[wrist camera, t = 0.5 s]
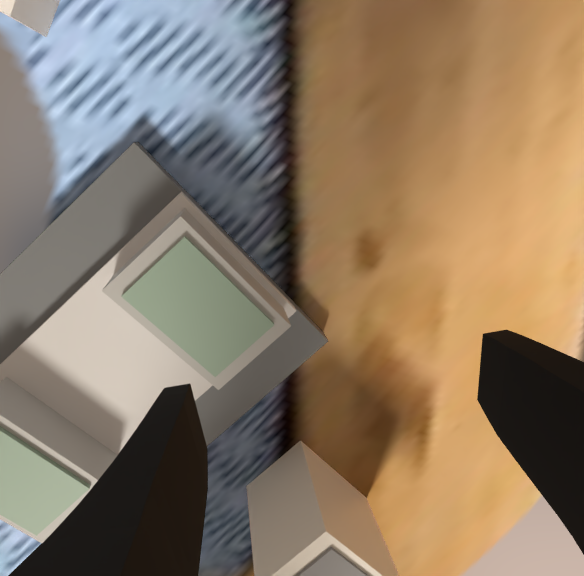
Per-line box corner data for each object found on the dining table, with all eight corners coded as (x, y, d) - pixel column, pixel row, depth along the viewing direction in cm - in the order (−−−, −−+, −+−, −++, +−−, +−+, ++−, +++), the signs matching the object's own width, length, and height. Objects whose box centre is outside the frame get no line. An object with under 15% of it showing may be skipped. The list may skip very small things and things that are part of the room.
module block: (315, 538, 27) (342, 649, 21) (246, 485, 25) (255, 591, 19) (366, 497, 26) (408, 598, 20) (300, 439, 24) (327, 534, 18)
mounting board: (112, 516, 24) (93, 584, 20) (-104, 379, 20) (-175, 433, 16) (323, 332, 22) (343, 369, 19) (138, 142, 18) (119, 143, 15)
